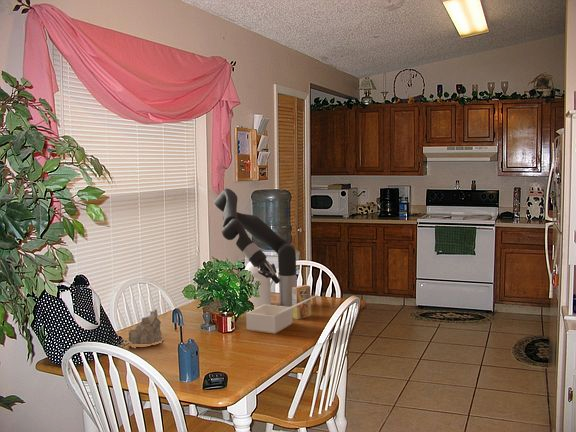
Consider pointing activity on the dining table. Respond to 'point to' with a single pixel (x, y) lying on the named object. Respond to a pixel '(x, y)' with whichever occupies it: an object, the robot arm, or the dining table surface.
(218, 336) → the dining table surface
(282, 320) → the box
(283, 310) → the lid
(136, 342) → the grey rock
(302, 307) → the candy box
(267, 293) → the bottle
